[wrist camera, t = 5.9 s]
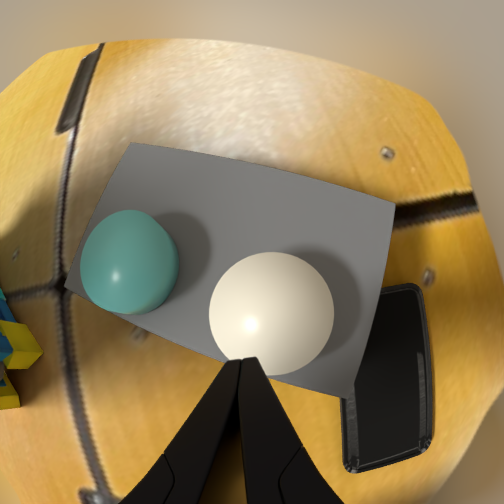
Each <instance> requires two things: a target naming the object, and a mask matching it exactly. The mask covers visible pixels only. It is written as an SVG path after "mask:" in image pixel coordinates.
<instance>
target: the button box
mask: <svg viewBox="0 0 504 504" xmlns="http://www.w3.org/2000/svg"><path fill="white" fill-rule="evenodd" d="M123 210H137V211H141V212H144V213H146V214H148V215H149V216H151V217H152V218H153V219H154V220H155V221H156V222H157V223H158V224H159V225H160V226H161V227H162V228H163V229H165V230H166V231H167V233H168V234H169V235H170V236H171V237H172V239H173V240H174V243H175V245H176V247H177V250H178V255H179V271H178V277H177V280H176V283H175V285H174V288H173V290H172V291H171V293H170V295H169V296H168V297H167V299H166V300H165V301H164V302H163V303H162V304H161V305H159V306H158V307H157V308H155V309H154V310H152V311H150V312H148V313H145V314H141V315H127V314H122V313H117V312H112V311H109V312H111V313H112V314H114V315H116V316H118V317H120V318H122V319H124V320H126V321H128V322H130V323H132V324H134V325H137V326H139V327H141V328H143V329H145V330H147V331H149V332H151V333H154V334H156V335H158V336H160V337H162V338H165V339H167V340H169V341H171V342H174V343H176V344H178V345H181V346H183V347H186V348H188V349H190V350H193V351H195V352H198V353H200V354H203V355H205V356H208V357H211V358H213V359H216V360H218V361H221V362H224V363H226V361H228V360H229V359H228V358H227V357H226V356H225V355H224V354H223V352H222V351H221V350H220V348H219V347H218V345H217V343H216V342H215V339H214V337H213V334H212V331H211V327H210V321H209V307H210V301H211V298H212V294H213V292H214V289H215V287H216V285H217V283H218V282H219V280H220V279H221V277H222V276H223V275H224V274H225V273H226V272H227V271H228V270H229V269H230V268H231V267H232V266H233V265H235V264H236V263H237V262H239V261H241V260H242V259H244V258H247V257H249V256H252V255H255V254H259V253H265V252H279V253H285V254H290V255H293V256H295V257H298V258H300V259H302V260H304V261H305V262H307V263H308V264H310V265H311V266H312V267H313V268H314V269H315V270H317V271H318V273H319V274H320V275H321V276H322V277H323V279H324V281H325V282H326V284H327V286H328V288H329V290H330V293H331V296H332V299H333V305H334V321H333V327H332V331H331V334H330V336H329V339H328V341H327V343H326V344H325V346H324V348H323V349H322V350H321V352H320V353H319V354H318V355H317V356H316V357H315V358H314V359H313V360H312V361H311V362H309V363H308V364H307V365H305V366H303V367H302V368H300V369H298V370H296V371H293V372H290V373H287V374H282V375H266V376H267V377H268V378H271V379H274V380H277V381H281V382H284V383H287V384H291V385H294V386H298V387H301V388H305V389H308V390H312V391H316V392H320V393H324V394H328V395H332V396H336V397H340V398H345V399H348V398H349V395H350V392H351V390H352V387H353V384H354V381H355V378H356V375H357V372H358V369H359V366H360V363H361V360H362V357H363V354H364V351H365V347H366V344H367V341H368V337H369V334H370V330H371V326H372V323H373V319H374V315H375V311H376V307H377V303H378V299H379V295H380V290H381V286H382V281H383V277H384V272H385V267H386V262H387V256H388V251H389V245H390V239H391V233H392V226H393V220H394V212H395V203H392V202H389V201H386V200H383V199H380V198H377V197H374V196H371V195H368V194H365V193H362V192H358V191H355V190H352V189H349V188H345V187H342V186H339V185H335V184H332V183H328V182H325V181H321V180H318V179H314V178H310V177H307V176H303V175H299V174H295V173H291V172H287V171H283V170H279V169H275V168H271V167H267V166H262V165H258V164H253V163H249V162H244V161H240V160H235V159H230V158H225V157H220V156H215V155H209V154H204V153H198V152H193V151H187V150H181V149H174V148H168V147H161V146H154V145H147V144H139V143H130V145H129V146H128V148H127V150H126V151H125V153H124V155H123V157H122V158H121V160H120V162H119V164H118V165H117V167H116V169H115V171H114V173H113V175H112V176H111V178H110V180H109V182H108V184H107V186H106V188H105V190H104V192H103V194H102V196H101V198H100V200H99V202H98V204H97V206H96V208H95V210H94V212H93V215H92V217H91V219H90V221H89V223H88V226H87V228H86V230H85V233H84V235H83V237H82V240H81V242H80V245H79V247H78V249H77V252H76V255H75V257H74V260H73V262H72V265H71V268H70V270H69V273H68V276H67V279H66V282H65V285H64V287H66V288H67V289H69V290H71V291H72V292H74V293H76V294H78V295H79V296H81V297H83V298H85V299H86V300H88V301H90V302H92V303H94V302H93V301H92V300H91V299H90V298H89V296H88V295H87V293H86V291H85V289H84V287H83V284H82V280H81V274H80V262H81V256H82V251H83V248H84V245H85V243H86V241H87V239H88V237H89V235H90V234H91V232H92V231H93V230H94V228H95V227H96V226H97V225H98V224H99V223H100V222H101V221H102V220H104V219H105V218H106V217H108V216H110V215H112V214H114V213H116V212H119V211H123ZM94 304H95V303H94ZM95 305H96V304H95ZM97 306H98V305H97ZM107 311H108V310H107Z"/></svg>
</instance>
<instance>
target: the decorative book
mask: <svg viewBox="0 0 504 504" xmlns="http://www.w3.org/2000/svg"><path fill="white" fill-rule="evenodd" d="M43 353H44V352H43V350H42V349H41V347H40V346H39V344H38V343H37V341H36V340H35V338H34V337H33V335H32V333H31V332H30V330H29V328H28V327H27V325H26V324H20V323H17V322H16V320H15V319H14V317H13V315H12V313H11V311H10V309H9V307H8V305H7V303H6V298H5V296H4V294H3V292H2V290H1V288H0V410H3V409H12V408H20V402H19V396H18V394H17V392H16V391H15V389H14V387H13V386H12V384H11V382H10V381H9V379H8V377H7V376H6V374H5V372H4V364H5V366H6V367H7V369H28V368H29V367H30V366H31V365H32V364H33V363H34V362H35V361H36V360H37V359H38V358H39V357H40V356H41V355H42V354H43Z"/></svg>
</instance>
